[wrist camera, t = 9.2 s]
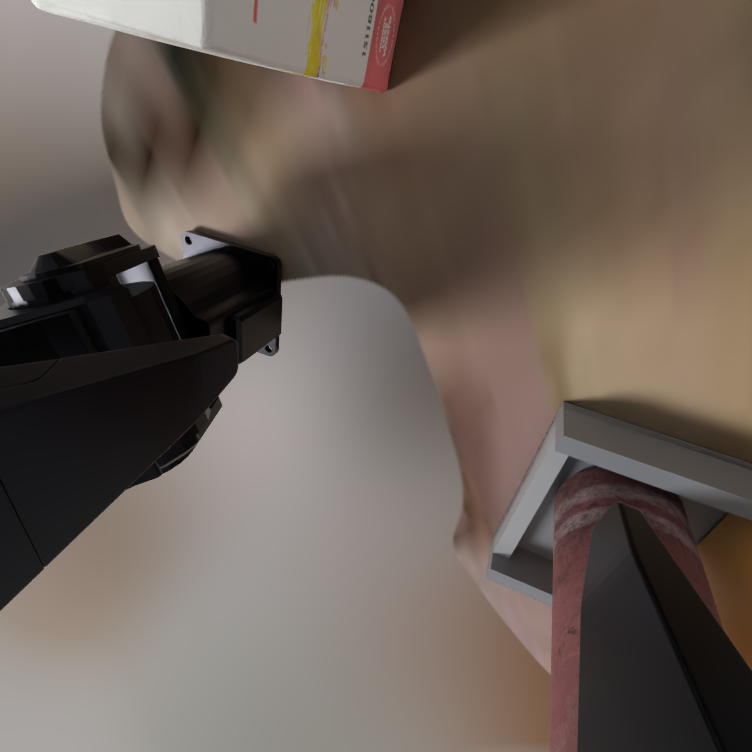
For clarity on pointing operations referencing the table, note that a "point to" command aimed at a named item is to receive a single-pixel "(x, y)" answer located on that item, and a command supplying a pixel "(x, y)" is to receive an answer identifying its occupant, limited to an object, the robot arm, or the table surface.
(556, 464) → the grey shallow open box
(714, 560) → the wedge
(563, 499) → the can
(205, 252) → the robot arm
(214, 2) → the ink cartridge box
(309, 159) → the table surface
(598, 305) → the table surface
